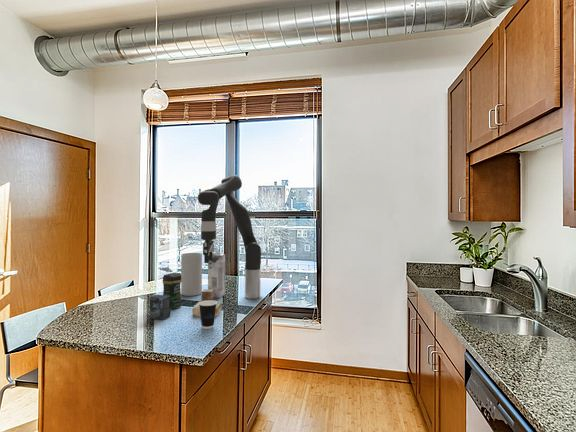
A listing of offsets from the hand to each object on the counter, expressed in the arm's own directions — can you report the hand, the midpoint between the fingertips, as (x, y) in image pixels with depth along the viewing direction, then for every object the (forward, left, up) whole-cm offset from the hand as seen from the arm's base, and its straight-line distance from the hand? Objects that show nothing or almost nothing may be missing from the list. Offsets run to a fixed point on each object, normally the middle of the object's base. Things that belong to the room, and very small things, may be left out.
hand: (208, 261), depth 168 cm
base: (0, 0, -26) cm, 26 cm away
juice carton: (+2, -32, -26) cm, 41 cm away
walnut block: (0, +1, -22) cm, 22 cm away
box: (+21, +9, -26) cm, 35 cm away
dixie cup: (-5, +21, -26) cm, 34 cm away
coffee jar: (+21, -8, -26) cm, 35 cm away
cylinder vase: (+19, -38, -26) cm, 50 cm away
